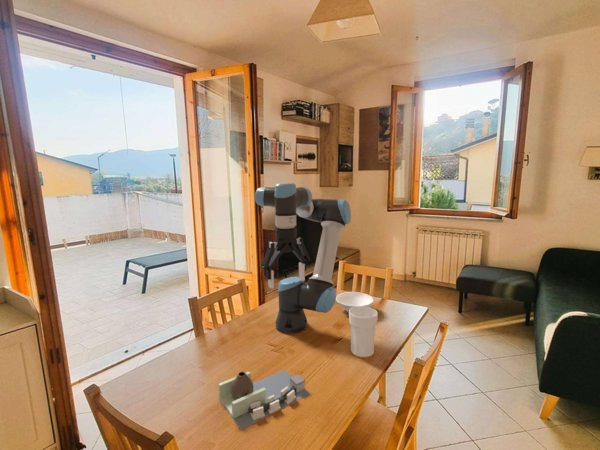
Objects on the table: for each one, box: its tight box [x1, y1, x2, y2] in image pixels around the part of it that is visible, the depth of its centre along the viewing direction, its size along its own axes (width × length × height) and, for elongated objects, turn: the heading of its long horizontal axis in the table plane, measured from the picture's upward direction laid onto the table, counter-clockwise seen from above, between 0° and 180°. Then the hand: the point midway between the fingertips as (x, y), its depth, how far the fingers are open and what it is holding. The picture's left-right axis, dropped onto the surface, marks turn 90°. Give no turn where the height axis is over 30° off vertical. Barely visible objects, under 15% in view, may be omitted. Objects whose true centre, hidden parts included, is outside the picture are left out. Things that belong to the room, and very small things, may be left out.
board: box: [218, 369, 312, 431], centre depth 103 cm, size 16×25×1 cm, turn 126°
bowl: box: [335, 291, 374, 313], centre depth 168 cm, size 20×20×7 cm
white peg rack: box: [250, 374, 306, 420], centre depth 100 cm, size 7×20×3 cm, turn 126°
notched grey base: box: [249, 386, 296, 413], centre depth 100 cm, size 4×19×1 cm, turn 126°
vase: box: [231, 371, 254, 400], centre depth 100 cm, size 7×7×9 cm
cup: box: [348, 306, 379, 360], centre depth 128 cm, size 11×11×17 cm
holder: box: [218, 371, 266, 421], centre depth 100 cm, size 11×11×5 cm
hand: (287, 283), depth 118 cm, fingers open, 13 cm apart
